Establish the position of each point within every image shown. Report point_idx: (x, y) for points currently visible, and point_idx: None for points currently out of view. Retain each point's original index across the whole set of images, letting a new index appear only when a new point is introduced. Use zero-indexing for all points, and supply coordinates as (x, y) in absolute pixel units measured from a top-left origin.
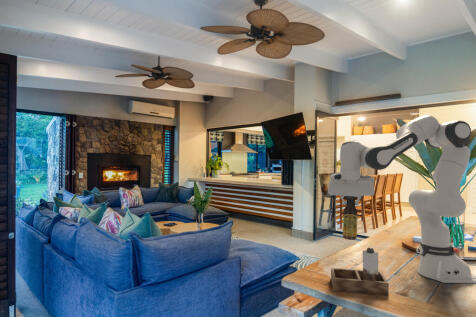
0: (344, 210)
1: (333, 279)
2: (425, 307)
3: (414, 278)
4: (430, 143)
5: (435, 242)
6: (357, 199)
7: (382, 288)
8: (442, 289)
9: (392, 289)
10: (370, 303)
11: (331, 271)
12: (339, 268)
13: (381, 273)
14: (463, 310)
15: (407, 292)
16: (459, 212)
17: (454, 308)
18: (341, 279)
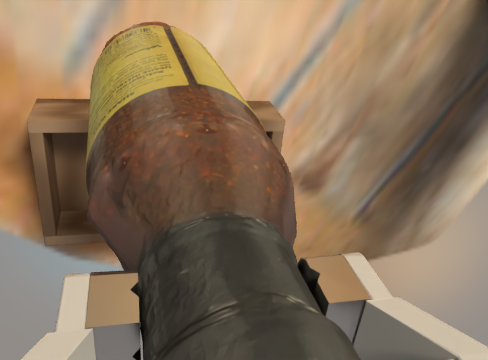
0: (100, 232)
1: (47, 243)
2: (333, 249)
3: (433, 20)
4: None
5: None
6: (400, 340)
7: None
8: (465, 114)
9: (290, 153)
10: None
11: (33, 154)
12: (77, 120)
13: (277, 143)
14: (422, 239)
15: (332, 165)
16: None
17: (407, 234)
18: (84, 242)
